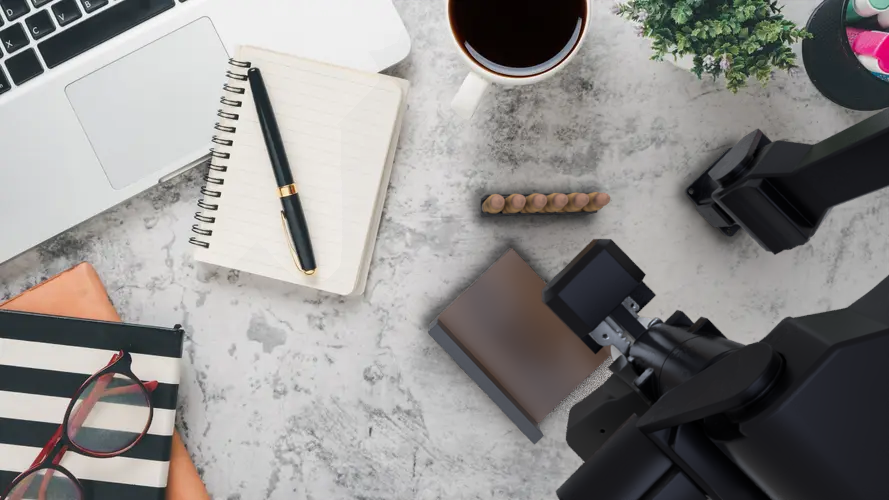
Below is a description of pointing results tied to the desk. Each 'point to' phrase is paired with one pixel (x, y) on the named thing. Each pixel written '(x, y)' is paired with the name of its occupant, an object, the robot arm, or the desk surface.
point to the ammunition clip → (543, 204)
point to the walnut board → (514, 343)
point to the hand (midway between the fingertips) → (631, 343)
